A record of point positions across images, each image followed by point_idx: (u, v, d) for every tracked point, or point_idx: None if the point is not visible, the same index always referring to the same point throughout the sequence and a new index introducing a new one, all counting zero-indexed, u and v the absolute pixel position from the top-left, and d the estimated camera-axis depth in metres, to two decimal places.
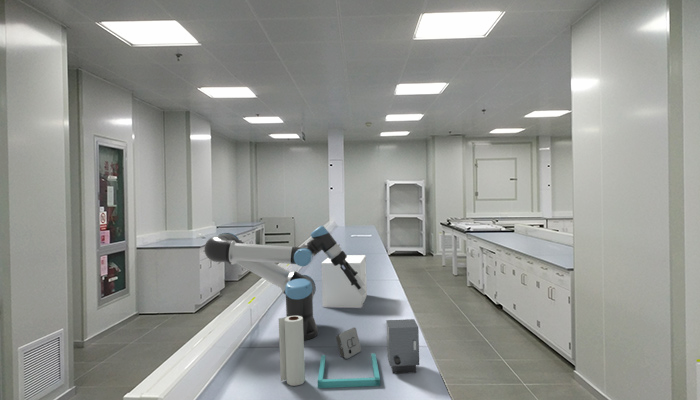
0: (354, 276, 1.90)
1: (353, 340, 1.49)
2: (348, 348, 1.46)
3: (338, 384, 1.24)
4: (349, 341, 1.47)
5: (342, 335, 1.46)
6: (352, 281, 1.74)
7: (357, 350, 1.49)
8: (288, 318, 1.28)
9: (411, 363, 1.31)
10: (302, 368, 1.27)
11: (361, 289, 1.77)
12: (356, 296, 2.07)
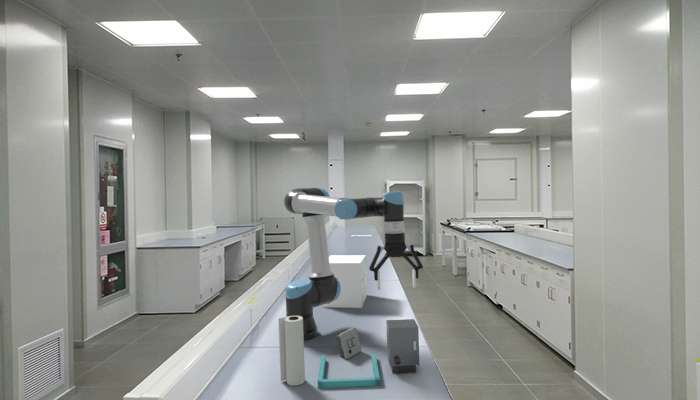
0: (413, 270, 1.48)
1: (353, 340, 1.49)
2: (348, 348, 1.46)
3: (338, 384, 1.24)
4: (349, 341, 1.47)
5: (342, 335, 1.46)
6: (370, 267, 1.47)
7: (357, 350, 1.49)
8: (288, 318, 1.28)
9: (411, 363, 1.31)
10: (302, 368, 1.27)
11: (377, 282, 1.47)
12: (356, 296, 2.07)
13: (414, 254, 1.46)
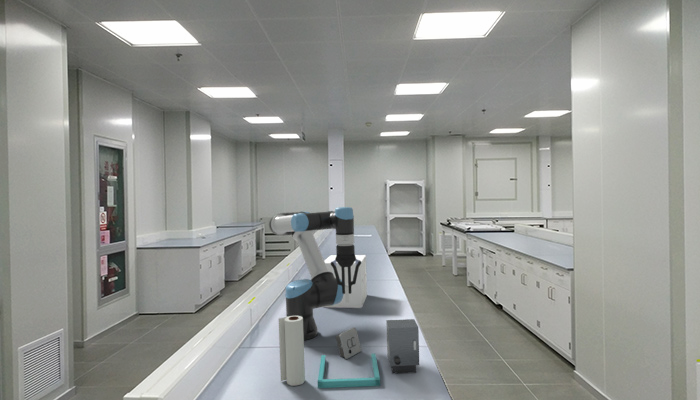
0: (346, 285, 1.61)
1: (353, 340, 1.49)
2: (348, 348, 1.46)
3: (338, 384, 1.24)
4: (349, 341, 1.47)
5: (342, 335, 1.46)
6: None
7: (357, 350, 1.49)
8: (288, 318, 1.28)
9: (411, 363, 1.31)
10: (302, 368, 1.27)
11: (345, 295, 1.60)
12: (356, 296, 2.07)
13: (356, 270, 1.59)
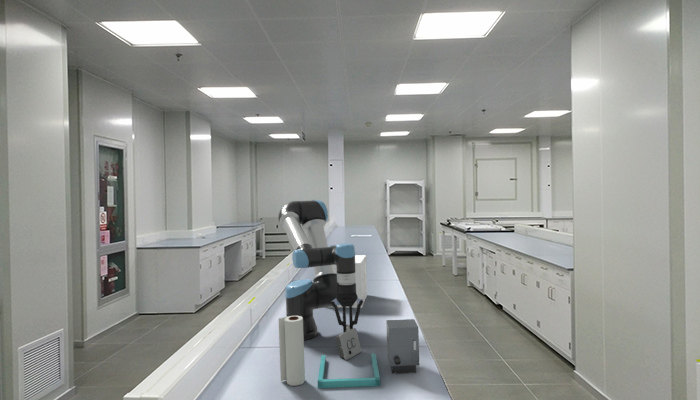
0: (348, 325, 1.55)
1: (353, 341, 1.48)
2: (348, 349, 1.45)
3: (338, 384, 1.24)
4: (349, 342, 1.46)
5: (342, 336, 1.45)
6: None
7: (357, 351, 1.48)
8: (288, 318, 1.28)
9: (411, 363, 1.31)
10: (302, 368, 1.27)
11: None
12: None
13: (358, 309, 1.53)
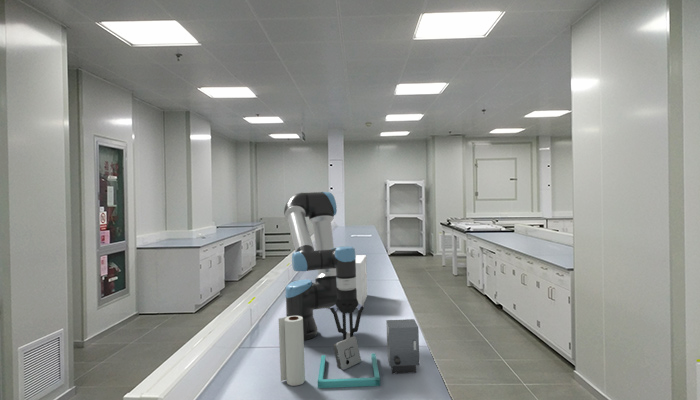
0: (348, 332, 1.47)
1: (352, 350, 1.39)
2: (345, 358, 1.37)
3: (338, 384, 1.24)
4: (347, 351, 1.38)
5: (339, 344, 1.37)
6: None
7: (356, 361, 1.40)
8: (288, 318, 1.28)
9: (411, 363, 1.31)
10: (302, 368, 1.27)
11: None
12: None
13: (358, 316, 1.45)
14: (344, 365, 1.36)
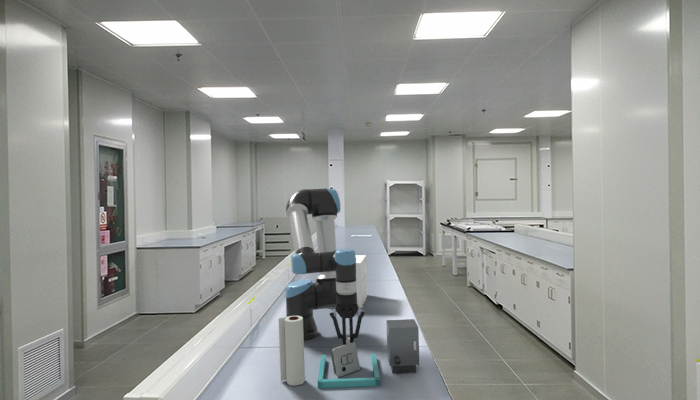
0: (348, 338, 1.41)
1: (349, 357, 1.34)
2: (342, 365, 1.32)
3: (338, 384, 1.24)
4: (344, 357, 1.33)
5: (335, 350, 1.32)
6: None
7: (354, 368, 1.34)
8: (288, 318, 1.28)
9: (411, 363, 1.31)
10: (302, 368, 1.27)
11: None
12: None
13: (359, 321, 1.40)
14: (340, 372, 1.31)
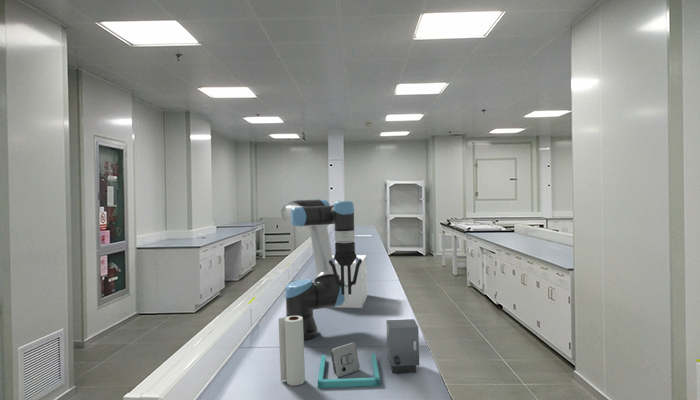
0: (346, 285, 1.49)
1: (349, 357, 1.34)
2: (342, 365, 1.32)
3: (338, 384, 1.24)
4: (344, 357, 1.33)
5: (335, 350, 1.32)
6: None
7: (354, 368, 1.34)
8: (288, 318, 1.28)
9: (411, 363, 1.31)
10: (302, 368, 1.27)
11: (344, 296, 1.48)
12: (356, 296, 2.07)
13: (357, 269, 1.47)
14: (340, 372, 1.31)
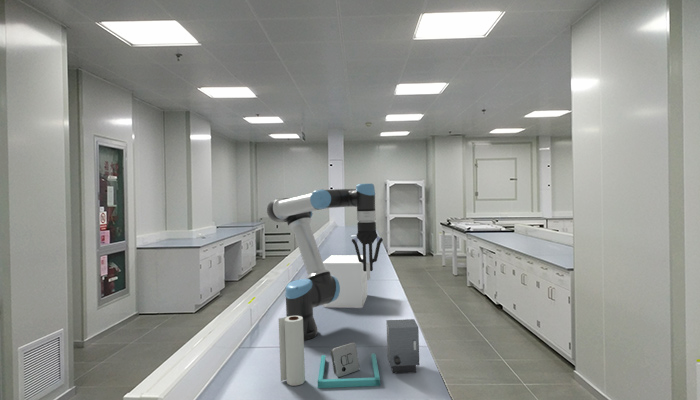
0: (368, 263, 1.59)
1: (349, 357, 1.34)
2: (342, 365, 1.32)
3: (338, 384, 1.24)
4: (344, 357, 1.33)
5: (335, 350, 1.32)
6: None
7: (354, 368, 1.34)
8: (288, 318, 1.28)
9: (411, 363, 1.31)
10: (302, 368, 1.27)
11: (366, 273, 1.58)
12: (356, 296, 2.07)
13: (378, 247, 1.57)
14: (340, 372, 1.31)
